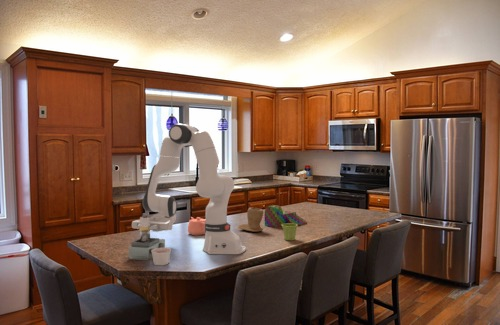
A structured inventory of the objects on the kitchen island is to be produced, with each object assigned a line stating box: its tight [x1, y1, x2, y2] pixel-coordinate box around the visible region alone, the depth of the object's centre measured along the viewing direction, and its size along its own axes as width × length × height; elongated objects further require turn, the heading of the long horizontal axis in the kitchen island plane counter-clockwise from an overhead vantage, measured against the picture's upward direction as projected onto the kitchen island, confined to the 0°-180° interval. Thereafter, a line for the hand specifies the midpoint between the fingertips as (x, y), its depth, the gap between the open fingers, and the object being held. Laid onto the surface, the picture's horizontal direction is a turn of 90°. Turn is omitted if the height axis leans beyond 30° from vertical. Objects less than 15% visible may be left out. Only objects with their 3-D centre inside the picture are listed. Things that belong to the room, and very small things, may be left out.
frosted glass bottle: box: [139, 212, 151, 241], centre depth 197 cm, size 5×5×13 cm
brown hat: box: [237, 207, 264, 233], centre depth 255 cm, size 15×12×15 cm
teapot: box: [187, 216, 206, 237], centre depth 247 cm, size 12×18×10 cm, turn 34°
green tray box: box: [128, 237, 166, 261], centre depth 199 cm, size 11×18×8 cm, turn 166°
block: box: [264, 204, 308, 229], centre depth 274 cm, size 25×17×14 cm
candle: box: [151, 247, 172, 266], centre depth 184 cm, size 9×9×6 cm
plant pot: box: [281, 223, 299, 242], centre depth 230 cm, size 9×9×9 cm
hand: (144, 227), depth 196 cm, fingers closed on frosted glass bottle, 5 cm apart
